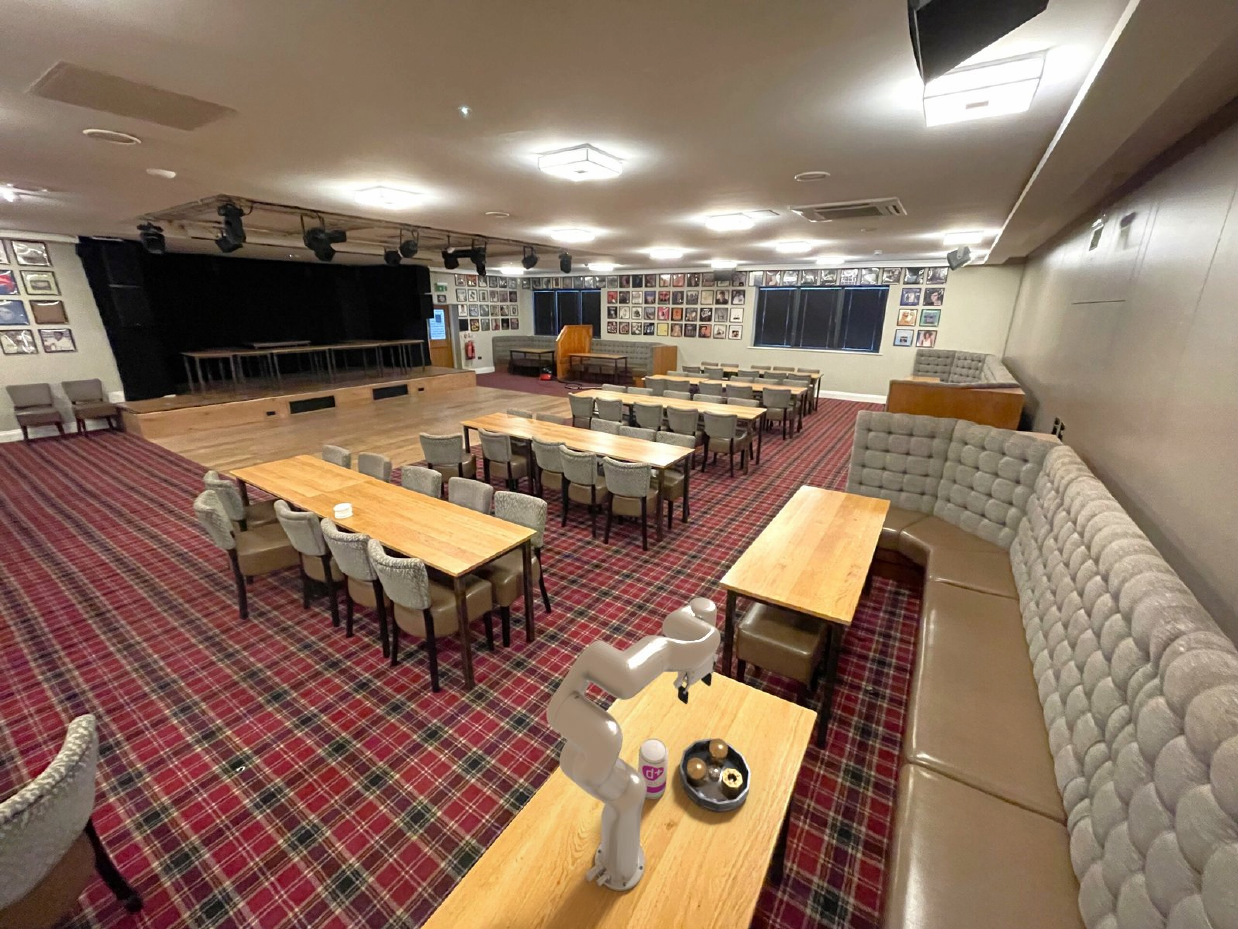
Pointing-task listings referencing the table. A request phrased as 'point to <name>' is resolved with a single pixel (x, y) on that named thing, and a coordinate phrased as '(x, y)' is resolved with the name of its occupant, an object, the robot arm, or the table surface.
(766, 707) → the table surface
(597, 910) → the table surface
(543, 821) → the table surface
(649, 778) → the supplement can
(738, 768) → the tray
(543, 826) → the table surface
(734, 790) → the tan hollow faceted cylinder
